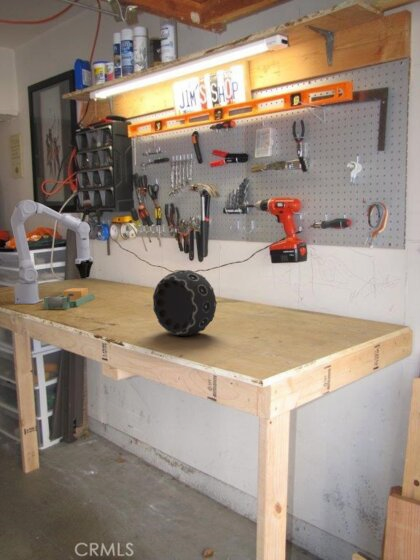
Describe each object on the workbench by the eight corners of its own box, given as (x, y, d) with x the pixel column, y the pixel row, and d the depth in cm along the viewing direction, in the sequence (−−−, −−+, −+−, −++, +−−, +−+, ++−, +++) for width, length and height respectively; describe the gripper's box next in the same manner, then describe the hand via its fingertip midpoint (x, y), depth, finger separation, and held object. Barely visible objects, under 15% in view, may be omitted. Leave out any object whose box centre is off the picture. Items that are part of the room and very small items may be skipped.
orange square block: (64, 302, 220) (63, 291, 219) (71, 299, 228) (70, 288, 227) (81, 302, 219) (81, 291, 219) (88, 299, 227) (87, 288, 226)
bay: (39, 309, 205) (38, 294, 204) (66, 298, 229) (65, 284, 228) (72, 309, 203) (71, 294, 202) (95, 298, 226) (94, 284, 225)
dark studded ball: (173, 326, 169) (171, 267, 166) (221, 335, 157) (219, 270, 154) (150, 333, 161) (147, 271, 158) (198, 343, 149) (196, 275, 146)
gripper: (85, 249, 223) (87, 280, 225) (97, 246, 238) (99, 275, 240) (70, 249, 225) (72, 280, 227) (83, 246, 239) (85, 275, 241)
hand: (85, 277), depth 233 cm, fingers open, 3 cm apart
